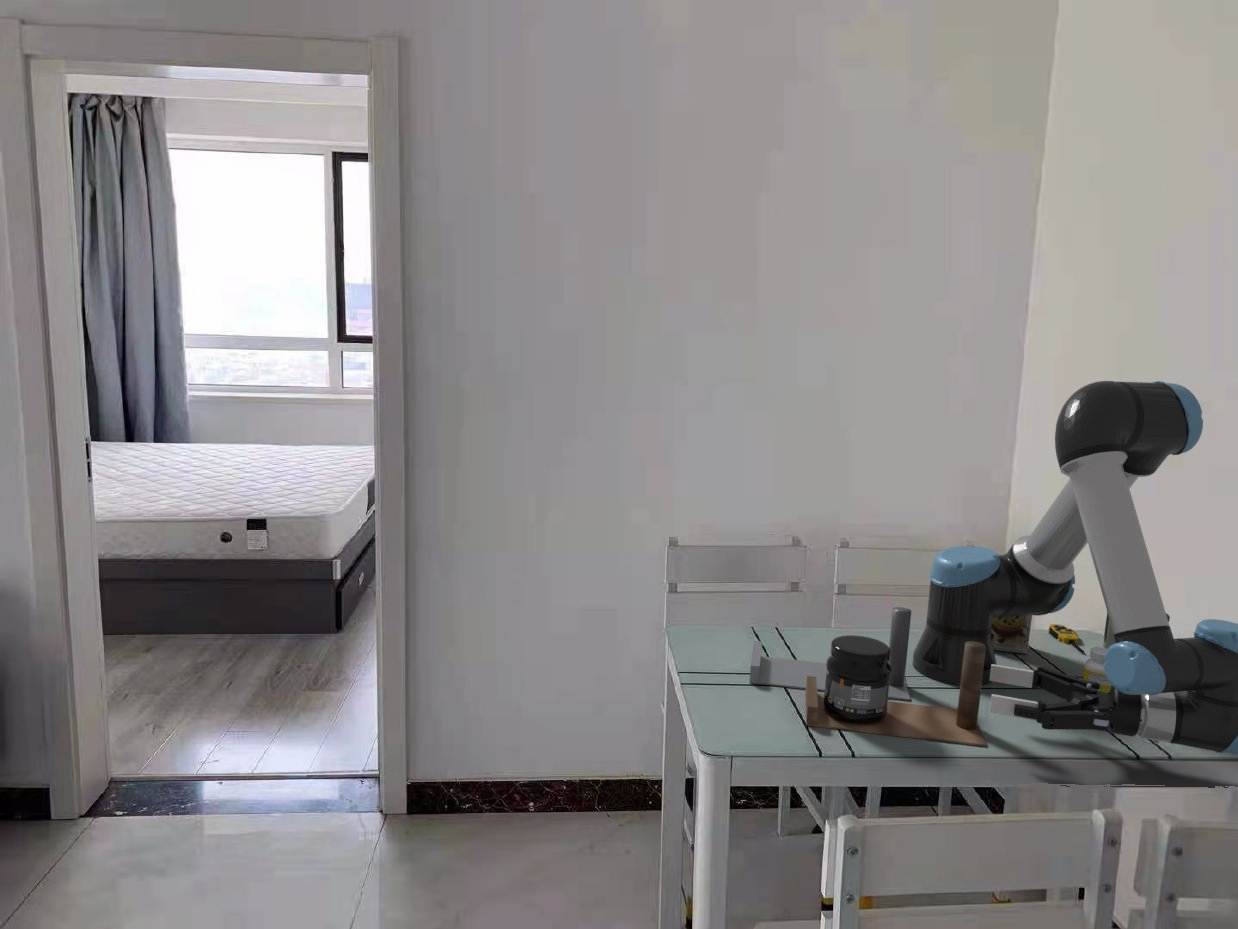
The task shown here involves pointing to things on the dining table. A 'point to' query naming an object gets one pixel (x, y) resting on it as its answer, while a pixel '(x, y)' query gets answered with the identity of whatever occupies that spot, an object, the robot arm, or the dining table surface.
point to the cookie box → (1011, 633)
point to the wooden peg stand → (919, 710)
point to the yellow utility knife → (1064, 635)
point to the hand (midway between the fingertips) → (990, 687)
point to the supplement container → (857, 679)
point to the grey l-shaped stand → (797, 670)
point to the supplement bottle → (1097, 669)
